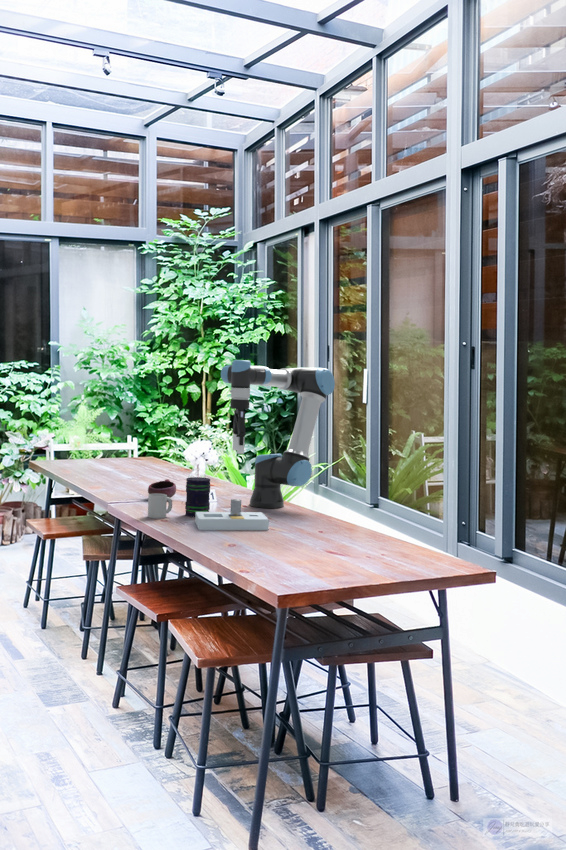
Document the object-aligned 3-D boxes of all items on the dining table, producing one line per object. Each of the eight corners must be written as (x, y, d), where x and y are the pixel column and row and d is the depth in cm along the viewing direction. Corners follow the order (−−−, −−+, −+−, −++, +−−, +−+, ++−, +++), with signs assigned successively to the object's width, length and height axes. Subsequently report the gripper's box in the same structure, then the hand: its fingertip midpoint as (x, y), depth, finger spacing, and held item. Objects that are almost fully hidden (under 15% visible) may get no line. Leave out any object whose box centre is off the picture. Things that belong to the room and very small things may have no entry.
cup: (144, 516, 323) (145, 493, 322) (168, 514, 328) (168, 492, 327) (151, 519, 317) (152, 496, 316) (175, 517, 322) (176, 495, 321)
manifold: (195, 522, 314) (195, 510, 314) (261, 522, 319) (261, 511, 319) (198, 529, 298) (199, 518, 298) (268, 530, 303) (268, 518, 303)
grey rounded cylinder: (229, 525, 310) (230, 499, 310) (239, 525, 311) (240, 499, 311) (230, 526, 306) (231, 500, 306) (241, 527, 307) (242, 500, 307)
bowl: (179, 501, 364) (179, 483, 363) (150, 502, 359) (151, 484, 358) (170, 496, 379) (170, 479, 378) (142, 496, 374) (143, 479, 373)
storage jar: (211, 514, 333) (212, 478, 333) (206, 518, 324) (208, 480, 323) (187, 512, 334) (188, 476, 334) (182, 516, 325) (183, 479, 324)
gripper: (227, 397, 335) (225, 448, 336) (234, 399, 310) (232, 454, 311) (245, 398, 336) (243, 449, 337) (254, 400, 312) (252, 455, 313)
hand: (238, 452), depth 324 cm, fingers open, 13 cm apart
